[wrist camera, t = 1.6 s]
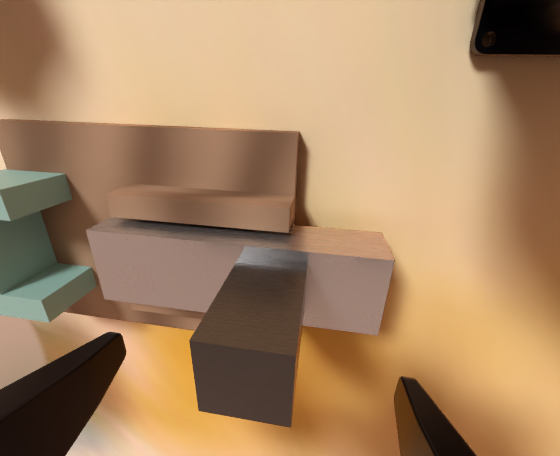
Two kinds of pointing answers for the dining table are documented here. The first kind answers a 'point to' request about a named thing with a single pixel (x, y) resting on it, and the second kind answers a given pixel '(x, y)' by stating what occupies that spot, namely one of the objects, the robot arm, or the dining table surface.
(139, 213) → the slide base
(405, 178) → the dining table surface
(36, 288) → the socket block
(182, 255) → the grey t-shaped block
